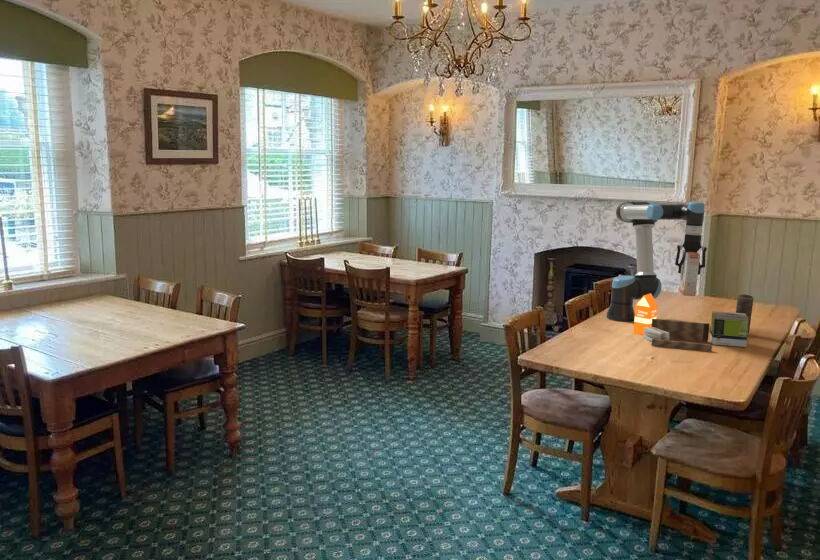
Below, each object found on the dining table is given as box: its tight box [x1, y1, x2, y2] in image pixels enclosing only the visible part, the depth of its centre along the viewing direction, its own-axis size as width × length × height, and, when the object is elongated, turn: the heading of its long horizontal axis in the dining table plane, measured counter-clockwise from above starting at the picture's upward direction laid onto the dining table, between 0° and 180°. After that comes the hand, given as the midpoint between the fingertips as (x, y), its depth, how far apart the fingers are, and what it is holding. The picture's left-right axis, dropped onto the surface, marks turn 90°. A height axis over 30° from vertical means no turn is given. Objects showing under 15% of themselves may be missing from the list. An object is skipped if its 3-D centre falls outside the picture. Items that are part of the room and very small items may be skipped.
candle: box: [735, 294, 755, 334], centre depth 340 cm, size 8×7×20 cm
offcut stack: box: [643, 327, 670, 343], centre depth 324 cm, size 6×12×6 cm, turn 19°
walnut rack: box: [651, 318, 713, 352], centre depth 321 cm, size 26×19×9 cm
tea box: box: [709, 310, 749, 348], centre depth 322 cm, size 15×10×15 cm, turn 73°
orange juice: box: [633, 293, 658, 336], centre depth 339 cm, size 8×9×20 cm
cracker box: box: [678, 249, 701, 297], centre depth 330 cm, size 14×6×21 cm, turn 167°
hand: (688, 280), depth 331 cm, fingers closed on cracker box, 6 cm apart
